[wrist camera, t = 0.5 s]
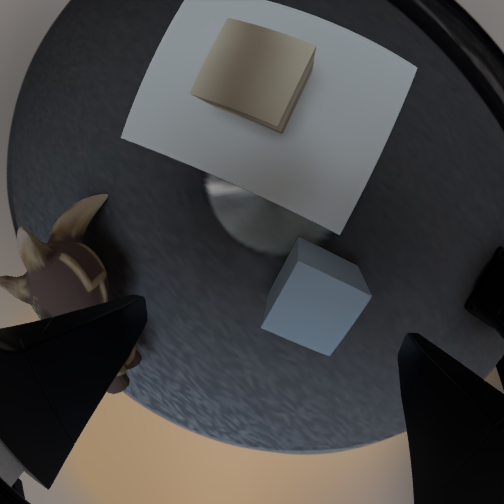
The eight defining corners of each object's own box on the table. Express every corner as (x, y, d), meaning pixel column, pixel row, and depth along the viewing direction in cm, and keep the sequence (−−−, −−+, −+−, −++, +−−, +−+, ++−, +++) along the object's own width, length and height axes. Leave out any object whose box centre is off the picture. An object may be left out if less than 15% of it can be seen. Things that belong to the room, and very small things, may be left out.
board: (415, 69, 15) (417, 67, 15) (338, 233, 20) (339, 235, 20) (194, -12, 15) (193, -14, 15) (123, 137, 20) (120, 137, 20)
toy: (110, 342, 28) (49, 217, 23) (171, 334, 27) (108, 188, 22) (64, 412, 18) (-29, 258, 13) (132, 419, 17) (19, 225, 12)
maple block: (312, 71, 16) (316, 45, 11) (282, 134, 18) (277, 126, 13) (244, 46, 16) (228, 17, 11) (215, 107, 18) (189, 93, 13)
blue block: (357, 265, 21) (372, 296, 16) (324, 317, 22) (329, 356, 18) (298, 236, 21) (298, 260, 16) (268, 292, 22) (260, 327, 18)
